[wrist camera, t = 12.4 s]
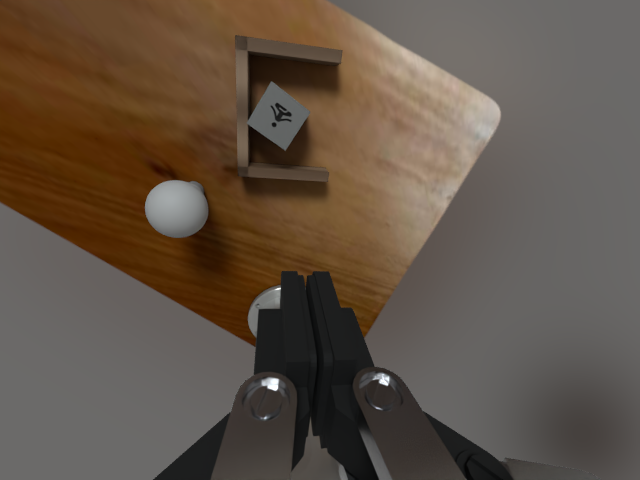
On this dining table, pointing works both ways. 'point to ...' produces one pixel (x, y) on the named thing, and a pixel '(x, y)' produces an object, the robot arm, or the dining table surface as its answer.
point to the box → (243, 52)
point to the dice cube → (278, 116)
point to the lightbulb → (177, 208)
